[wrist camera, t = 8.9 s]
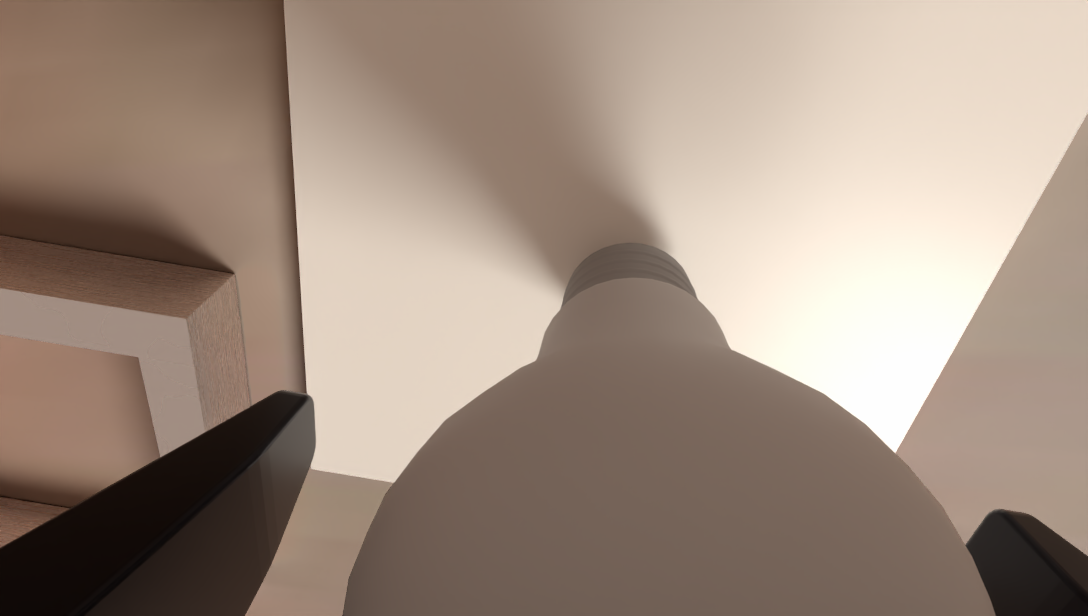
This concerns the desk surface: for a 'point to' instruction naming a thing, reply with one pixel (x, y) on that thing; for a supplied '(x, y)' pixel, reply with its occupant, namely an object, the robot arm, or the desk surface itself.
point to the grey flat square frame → (129, 336)
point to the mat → (659, 185)
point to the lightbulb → (657, 483)
